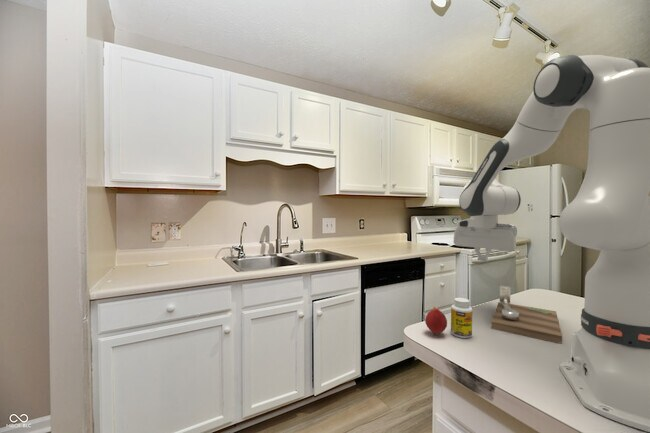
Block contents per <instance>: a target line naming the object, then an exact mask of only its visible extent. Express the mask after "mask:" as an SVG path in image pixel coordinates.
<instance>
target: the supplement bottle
mask: <svg viewBox="0 0 650 433" xmlns="http://www.w3.org/2000/svg"><path fill="white" fill-rule="evenodd" d="M470 304H471V302H470V300H469V299H468V298H465V297H455V298H454V299H453V304H452V305H451V306H450V310H451V311H450V333H451V334H452V335H453V336H455V337H457V338H461V339H469V338H472V336H473V311H474V310H473V308H472V306H471V305H470Z"/></svg>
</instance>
